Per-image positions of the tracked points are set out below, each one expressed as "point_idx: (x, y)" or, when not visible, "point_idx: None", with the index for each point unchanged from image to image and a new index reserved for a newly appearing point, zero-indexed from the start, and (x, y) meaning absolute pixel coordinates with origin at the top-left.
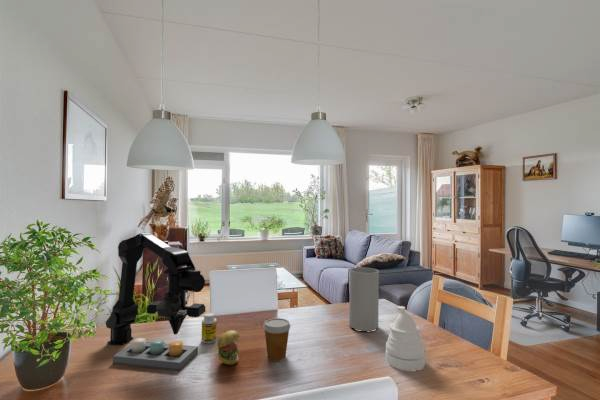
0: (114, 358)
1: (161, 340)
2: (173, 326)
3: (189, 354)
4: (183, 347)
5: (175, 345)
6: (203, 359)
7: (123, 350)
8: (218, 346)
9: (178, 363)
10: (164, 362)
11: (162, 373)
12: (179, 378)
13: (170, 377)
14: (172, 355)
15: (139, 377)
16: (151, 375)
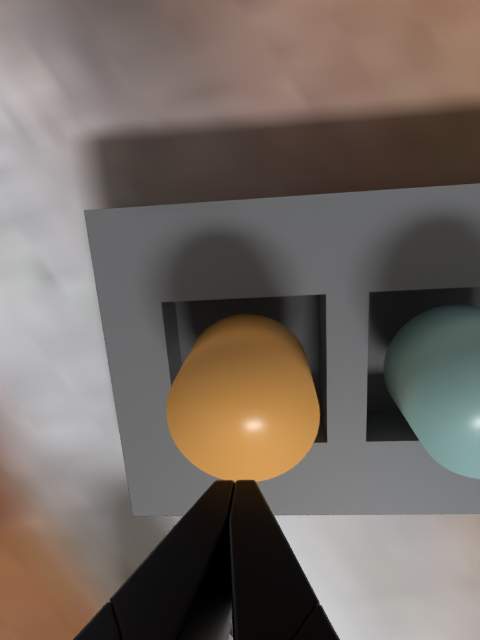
0: None
1: (469, 460)
2: (240, 581)
3: (113, 379)
4: None
5: (221, 380)
6: (58, 410)
7: None
8: None
9: (102, 209)
10: (248, 199)
11: (223, 134)
12: (38, 99)
13: (117, 93)
14: (240, 316)
15: (380, 10)
16: (294, 75)
